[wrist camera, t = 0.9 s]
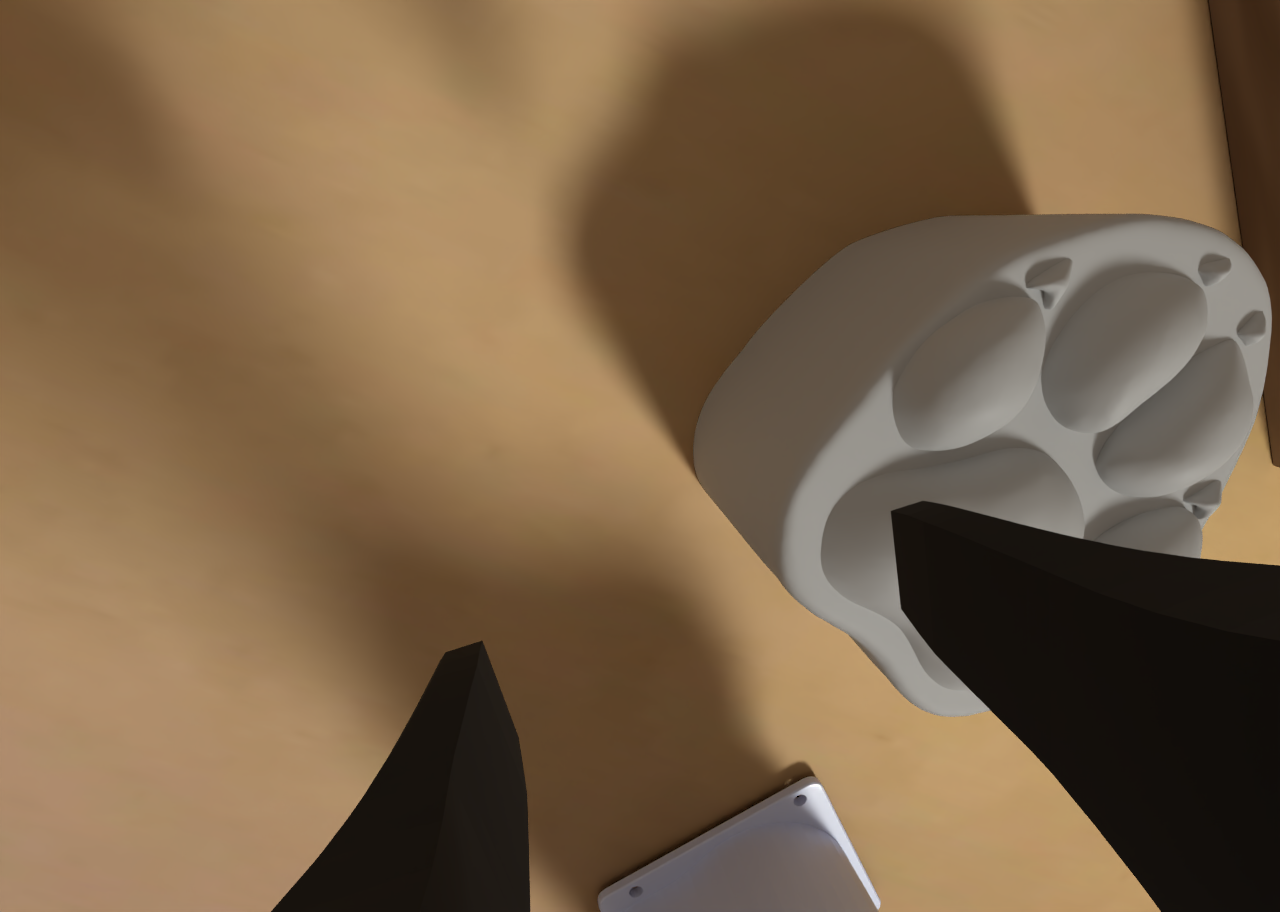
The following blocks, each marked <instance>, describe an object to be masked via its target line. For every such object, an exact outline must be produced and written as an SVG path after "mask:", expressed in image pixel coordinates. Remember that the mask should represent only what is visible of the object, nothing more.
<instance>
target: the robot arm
mask: <svg viewBox="0 0 1280 912" xmlns="http://www.w3.org/2000/svg"><path fill="white" fill-rule="evenodd" d="M891 519H892V529H893V538H894V548H895V557H896V567H897V576H898V586H899V595H900V605H901V610H902V611H903V612H904V614H905V615H906V617H907V618H908V619H909V621H910V622H911V623H912V625H913V626H914V628H915V629H916V630H917V632H918V633H919V634H920V636H921V637H922V638H923V639H924V641H925V642H926V643H927V645H928V646H929V647H930V648H931V650H932V651H933V652H934V654H935V655H936V656H937V657H938V658H939V659H940V660H941V661H942V662H943V663H944V664H945V665H946V666H947V667H948V668H949V669H950V670H951V671H952V672H953V673H954V674H955V675H956V676H957V677H958V678H959V679H960V680H961V681H962V682H963V683H964V684H965V685H966V686H967V687H968V688H969V689H970V690H971V691H972V692H973V693H974V694H975V695H976V696H977V697H978V698H979V699H980V700H981V701H982V702H983V703H984V704H985V705H986V706H987V707H988V708H989V709H990V710H991V711H992V712H993V713H994V714H995V715H996V716H997V717H998V718H999V719H1000V720H1001V721H1002V722H1003V723H1004V724H1005V725H1006V726H1007V727H1008V728H1009V729H1010V730H1011V731H1012V732H1013V733H1014V734H1015V735H1016V736H1017V737H1018V738H1019V739H1020V740H1021V741H1022V742H1023V743H1024V744H1025V745H1026V746H1027V747H1028V748H1029V749H1030V750H1031V751H1032V752H1033V753H1034V754H1035V755H1036V756H1037V758H1038V759H1039V760H1040V761H1041V762H1042V763H1043V764H1044V765H1045V766H1046V767H1047V768H1048V769H1049V771H1050V772H1051V773H1052V774H1053V775H1054V776H1055V777H1056V779H1057V780H1058V781H1059V782H1060V784H1061V785H1062V786H1063V787H1064V788H1065V790H1066V791H1067V792H1068V793H1069V794H1070V796H1071V797H1072V798H1073V799H1074V801H1075V802H1076V803H1077V804H1078V805H1079V807H1080V808H1081V809H1082V810H1083V811H1084V813H1085V814H1086V815H1087V816H1088V817H1089V819H1090V820H1091V821H1092V822H1093V824H1094V825H1095V826H1096V827H1097V829H1098V830H1099V831H1100V832H1101V834H1102V835H1103V836H1104V838H1105V839H1106V840H1107V841H1108V843H1109V844H1110V845H1111V847H1112V848H1113V849H1114V850H1115V852H1116V853H1117V854H1118V855H1119V857H1120V858H1121V859H1122V861H1123V862H1124V863H1125V864H1126V866H1127V867H1128V868H1129V870H1130V871H1131V872H1132V873H1133V875H1134V876H1135V877H1136V878H1137V880H1138V881H1139V882H1140V884H1141V885H1142V886H1143V888H1144V889H1145V890H1146V892H1147V893H1148V894H1149V896H1150V897H1151V898H1152V900H1153V901H1154V903H1155V904H1156V905H1157V907H1158V908H1159V909H1160V911H1161V912H1280V566H1278V565H1266V564H1253V563H1241V562H1229V561H1218V560H1209V559H1200V558H1192V557H1185V556H1178V555H1171V554H1164V553H1157V552H1150V551H1143V550H1137V549H1132V548H1126V547H1120V546H1115V545H1110V544H1105V543H1101V542H1096V541H1091V540H1086V539H1081V538H1076V537H1072V536H1068V535H1063V534H1059V533H1055V532H1050V531H1046V530H1042V529H1038V528H1034V527H1030V526H1026V525H1022V524H1018V523H1015V522H1011V521H1007V520H1003V519H999V518H995V517H992V516H988V515H984V514H980V513H976V512H973V511H969V510H965V509H961V508H957V507H953V506H948V505H944V504H939V503H934V502H928V501H920V502H917V503H914V504H911V505H907V506H904V507H901V508H898V509H895V510H892V511H891ZM798 795H801V796H799V797H798V798H796V797H797V796H798ZM636 886H638V887H636ZM633 887H636V888H633ZM880 904H881V902H880V899H879V897H878V895H877V893H876V891H875V889H874V887H873V885H872V883H871V881H870V879H869V877H868V875H867V873H866V871H865V869H864V867H863V865H862V863H861V861H860V859H859V857H858V855H857V853H856V851H855V849H854V847H853V845H852V843H851V841H850V839H849V837H848V835H847V833H846V831H845V829H844V827H843V825H842V823H841V821H840V819H839V817H838V815H837V814H836V812H835V810H834V808H833V806H832V804H831V802H830V800H829V798H828V796H827V794H826V792H825V790H824V788H823V786H822V784H821V783H820V781H819V780H818V779H817V778H816V777H813V776H811V777H806V778H803V779H801V780H799V781H798V782H796V783H794V784H792V785H790V786H789V787H787V788H785V789H783V790H781V791H780V792H778V793H776V794H774V795H772V796H771V797H769V798H767V799H765V800H763V801H762V802H760V803H758V804H756V805H755V806H753V807H751V808H749V809H747V810H746V811H744V812H742V813H740V814H738V815H737V816H735V817H733V818H731V819H729V820H728V821H726V822H724V823H722V824H720V825H719V826H717V827H715V828H713V829H711V830H710V831H708V832H706V833H704V834H702V835H701V836H699V837H697V838H695V839H693V840H692V841H690V842H688V843H686V844H684V845H683V846H681V847H679V848H677V849H675V850H674V851H672V852H670V853H668V854H666V855H665V856H663V857H661V858H659V859H657V860H656V861H654V862H652V863H650V864H648V865H647V866H645V867H643V868H641V869H639V870H638V871H636V872H634V873H632V874H630V875H629V876H627V877H625V878H623V879H621V880H620V881H618V882H616V883H614V884H613V885H611V886H609V887H607V888H605V889H604V890H603V891H601V892H600V894H599V896H598V905H599V909H600V911H601V912H879V911H878V909H879V907H880ZM271 912H530V881H529V840H528V806H527V791H526V784H525V777H524V770H523V763H522V757H521V750H520V744H519V738H518V735H517V732H516V729H515V727H514V724H513V721H512V719H511V716H510V713H509V711H508V708H507V705H506V703H505V700H504V697H503V695H502V692H501V689H500V687H499V684H498V681H497V679H496V676H495V673H494V671H493V668H492V665H491V663H490V660H489V657H488V655H487V652H486V649H485V647H484V644H483V641H480V642H477V643H474V644H471V645H467V646H464V647H461V648H458V649H455V650H452V651H449V652H445V654H444V656H443V657H442V659H441V661H440V663H439V664H438V666H437V668H436V670H435V672H434V674H433V676H432V678H431V680H430V682H429V684H428V686H427V688H426V689H425V691H424V693H423V695H422V697H421V699H420V701H419V703H418V705H417V707H416V709H415V711H414V712H413V714H412V716H411V718H410V720H409V721H408V723H407V725H406V727H405V729H404V730H403V732H402V734H401V736H400V737H399V739H398V741H397V743H396V745H395V746H394V748H393V750H392V752H391V753H390V755H389V757H388V758H387V760H386V761H385V763H384V765H383V766H382V768H381V769H380V771H379V773H378V774H377V776H376V777H375V779H374V780H373V782H372V784H371V785H370V787H369V788H368V790H367V792H366V793H365V795H364V796H363V798H362V799H361V801H360V802H359V803H358V805H357V806H356V808H355V809H354V811H353V812H352V813H351V815H350V816H349V817H348V819H347V820H346V822H345V823H344V824H343V826H342V827H341V828H340V830H339V831H338V832H337V833H336V835H335V836H334V837H333V839H332V840H331V841H330V843H329V844H328V845H327V847H326V848H325V849H324V850H323V852H322V853H321V854H320V855H319V857H318V858H317V859H316V860H315V862H314V863H313V864H312V865H311V866H310V867H309V869H308V870H307V871H306V872H305V873H304V874H303V876H302V877H301V878H300V879H299V880H298V881H297V882H296V884H295V885H294V886H293V887H292V888H291V889H290V890H289V892H288V893H287V894H286V895H285V896H284V897H283V898H282V900H281V901H280V902H279V903H278V904H277V905H276V907H275V908H274V909H273V910H272V911H271Z"/></svg>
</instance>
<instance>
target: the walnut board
mask: <svg viewBox="0 0 1280 912" xmlns="http://www.w3.org/2000/svg"><path fill="white" fill-rule="evenodd" d="M1209 6H1210V13H1211V20H1212V27H1213V34H1214V42H1215V49H1216V56H1217V63H1218V70H1219V78H1220V85H1221V92H1222V99H1223V106H1224V113H1225V121H1226V128H1227V135H1228V142H1229V149H1230V156H1231V164H1232V171H1233V178H1234V185H1235V192H1236V200H1237V207H1238V214H1239V221H1240V228H1241V235H1242V243H1243V249H1244V250H1245V251H1246V252H1247V253H1248V254H1249V256H1250V257H1251V259H1252V260H1253V261H1254V263H1255V264H1256V266H1257V267H1258V269H1259V271H1260V272H1261V274H1262V276H1263V278H1264V280H1265V282H1266V285H1267V287H1268V292H1269V296H1270V302H1271V311H1272V329H1271V339H1270V349H1269V357H1268V366H1267V372H1266V377H1265V383H1264V388H1263V393H1264V400H1265V408H1266V415H1267V422H1268V429H1269V436H1270V443H1271V451H1272V458H1273V465H1274V466H1277V467H1280V0H1209Z"/></svg>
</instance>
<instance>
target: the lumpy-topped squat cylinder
mask: <svg viewBox="0 0 1280 912" xmlns="http://www.w3.org/2000/svg"><path fill="white" fill-rule="evenodd" d="M1271 329H1272V311H1271V302H1270V296H1269V292H1268V287H1267V285H1266V282H1265V280H1264V278H1263V276H1262V274H1261V272H1260V271H1259V269H1258V267H1257V266H1256V264H1255V263H1254V261H1253V260H1252V259H1251V257H1250V256H1249V254H1248V253H1247V252H1246V251H1245V250H1244V249H1243V248H1242V247H1241V246H1240V245H1238V244H1237V243H1236V242H1235V241H1233V240H1232V239H1231V238H1229V237H1228V236H1227V235H1225V234H1224V233H1222V232H1220V231H1218V230H1216V229H1214V228H1211V227H1209V226H1206V225H1203V224H1200V223H1196V222H1193V221H1189V220H1185V219H1181V218H1175V217H1168V216H1159V215H1150V214H1049V215H967V216H942V217H936V218H931V219H926V220H922V221H918V222H914V223H910V224H906V225H903V226H899V227H896V228H893V229H889V230H886V231H883V232H880V233H877V234H874V235H872V236H869V237H866V238H864V239H861V240H859V241H856V242H854V243H852V244H850V245H848V246H847V247H845V248H844V249H842V250H841V251H839V252H838V253H837V254H836V255H834V256H833V257H832V258H831V259H829V260H828V261H827V262H826V263H825V264H823V265H822V266H821V267H820V268H819V269H818V270H817V271H816V272H814V273H813V274H812V275H811V276H810V277H809V278H808V279H807V280H806V281H805V282H804V283H803V284H802V285H801V286H800V287H799V288H797V289H796V290H795V291H794V292H793V293H792V294H791V295H790V296H789V297H788V298H787V299H786V300H785V301H784V302H783V303H782V304H781V306H780V307H779V308H778V309H777V310H776V311H775V312H774V313H773V314H772V315H771V316H770V317H769V318H768V319H767V320H766V321H765V323H764V324H763V325H762V326H761V327H760V328H759V329H758V330H757V332H756V333H755V334H754V335H753V336H752V338H751V339H750V340H749V342H748V343H747V344H746V346H745V347H744V348H743V350H742V351H741V352H740V353H739V355H738V356H737V357H736V358H735V359H734V361H733V362H732V363H731V364H730V365H729V367H728V368H727V369H726V370H725V372H724V373H723V374H722V376H721V377H720V378H719V380H718V381H717V383H716V384H715V386H714V387H713V389H712V390H711V392H710V394H709V396H708V397H707V399H706V401H705V403H704V406H703V408H702V410H701V413H700V416H699V418H698V422H697V425H696V430H695V435H694V444H693V459H694V467H695V471H696V475H697V477H698V480H699V482H700V484H701V486H702V487H703V489H704V490H705V492H706V493H707V494H708V495H709V496H710V498H711V499H712V500H713V501H714V503H715V504H716V505H717V506H718V507H719V509H720V510H721V511H722V512H723V514H724V515H725V516H726V517H727V518H728V520H729V521H730V522H731V523H732V525H733V526H734V527H735V528H736V529H737V531H738V532H739V533H740V534H741V536H742V537H743V538H744V539H745V541H746V542H747V543H748V544H749V545H750V547H751V548H752V549H753V550H754V551H755V553H756V554H757V555H758V556H759V557H760V559H761V560H762V561H763V562H764V563H765V564H766V566H767V567H768V568H769V569H770V570H771V571H772V572H773V573H774V574H775V575H776V577H777V578H778V579H779V581H780V582H781V584H782V585H783V586H784V588H785V589H786V590H787V591H788V592H789V593H790V595H791V596H792V597H793V598H794V599H795V600H797V601H798V602H799V603H800V604H801V605H803V606H804V607H805V608H806V609H808V610H809V611H810V612H811V613H813V614H814V615H816V616H817V617H819V618H821V619H823V620H825V621H827V622H828V623H830V624H831V625H833V626H835V627H836V628H838V629H840V630H842V631H844V632H845V633H847V634H848V635H849V636H850V637H851V638H852V639H853V640H854V642H855V643H856V644H857V645H858V646H859V647H860V648H861V650H862V651H863V652H864V653H865V654H866V655H867V656H868V658H869V659H870V660H871V661H872V662H873V663H874V664H875V665H876V666H877V668H878V669H879V670H880V671H881V672H882V673H883V674H884V675H885V676H886V677H887V678H888V680H889V681H890V682H891V683H892V684H893V686H894V687H895V688H896V689H897V690H898V691H899V692H900V693H901V694H902V695H903V696H904V697H905V698H906V699H907V700H908V701H910V702H911V703H912V704H914V705H915V706H917V707H918V708H920V709H922V710H924V711H926V712H929V713H932V714H934V715H939V716H948V717H957V716H969V715H973V714H977V713H981V712H986V711H989V710H990V709H989V708H988V707H987V706H986V705H985V704H984V703H983V702H982V701H981V700H980V699H979V698H978V697H977V696H976V695H975V694H974V693H973V692H972V691H971V690H970V689H969V688H968V687H967V686H966V685H965V684H964V683H963V682H962V681H961V680H960V679H959V678H958V677H957V676H956V675H955V674H954V673H953V672H952V671H951V670H950V669H949V668H948V667H947V666H946V665H945V664H944V663H943V662H942V661H941V660H940V659H939V658H938V657H937V656H936V655H935V654H934V652H933V651H932V650H931V648H930V647H929V646H928V645H927V643H926V642H925V641H924V639H923V638H922V637H921V636H920V634H919V633H918V632H917V630H916V629H915V628H914V626H913V625H912V623H911V622H910V621H909V619H908V618H907V617H906V615H905V614H904V612H903V611H902V610H901V605H900V595H899V586H898V576H897V567H896V557H895V548H894V538H893V529H892V519H891V511H892V510H895V509H898V508H901V507H904V506H907V505H911V504H914V503H917V502H920V501H928V502H934V503H939V504H944V505H948V506H953V507H957V508H961V509H965V510H969V511H973V512H976V513H980V514H984V515H988V516H992V517H995V518H999V519H1003V520H1007V521H1011V522H1015V523H1018V524H1022V525H1026V526H1030V527H1034V528H1038V529H1042V530H1046V531H1050V532H1055V533H1059V534H1063V535H1068V536H1072V537H1076V538H1081V539H1086V540H1091V541H1096V542H1101V543H1105V544H1110V545H1115V546H1120V547H1126V548H1132V549H1137V550H1143V551H1150V552H1157V553H1164V554H1171V555H1178V556H1185V557H1192V558H1200V556H1201V549H1202V528H1203V527H1204V525H1205V523H1206V521H1207V520H1208V518H1209V516H1211V515H1212V514H1213V513H1214V512H1215V511H1216V509H1217V508H1218V507H1219V506H1220V504H1221V495H1222V491H1223V489H1224V487H1225V485H1226V483H1227V481H1228V479H1229V477H1230V475H1231V473H1232V471H1233V469H1234V467H1235V465H1236V463H1237V461H1238V459H1239V456H1240V454H1241V452H1242V450H1243V448H1244V446H1245V443H1246V441H1247V439H1248V436H1249V434H1250V432H1251V429H1252V427H1253V424H1254V422H1255V419H1256V415H1257V412H1258V408H1259V404H1260V401H1261V397H1262V393H1263V388H1264V383H1265V377H1266V372H1267V366H1268V357H1269V349H1270V339H1271Z"/></svg>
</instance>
